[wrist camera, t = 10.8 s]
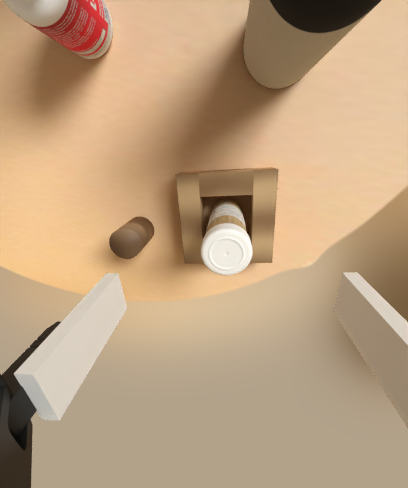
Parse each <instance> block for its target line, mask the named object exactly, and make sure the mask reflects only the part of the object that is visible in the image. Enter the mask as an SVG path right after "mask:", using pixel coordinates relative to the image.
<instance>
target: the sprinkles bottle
mask: <svg viewBox="0 0 408 488" xmlns="http://www.w3.org/2000/svg"><path fill="white" fill-rule="evenodd" d="M252 252H253V251H252V244H251V240H250V237H249V235H248V234H247V232H246V226H245V221H244V218H243V214H242V209H241V207H240V206H239V204H238V203H236V202H235V201H233V200H230V199H224V200H220V201H219V202H217V203H216V204H215V205H214V206H213V208H212V210H211V216H210V219H209V223H208V227H207V231H206V234H205V236H204V238H203V241H202V246H201V257H202V260H203V262H204V264H205V265H206V266H207V267H208V268H209V269H210V270H211V271H213V272H215V273H217V274H220V275H233V274H237V273H239V272H241V271H242V270H244V269H245V268H246V267H247V266H248V264H249V263H250V261H251V258H252Z"/></svg>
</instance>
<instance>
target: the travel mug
mask: <svg viewBox="0 0 408 488" xmlns="http://www.w3.org/2000/svg"><path fill="white" fill-rule="evenodd" d="M380 1H381V0H250V3H249V10H248V17H247V23H246V30H245V36H244V45H243V52H244V59H245V63H246V66H247V69H248V71H249V73H250V74H251V76H252V77H253V78H254V79H255V80H256V81H257V82H258V83H259V84H261V85H263V86H265V87H268V88H273V89H279V88H284V87H288V86H290V85H292V84H294V83H296V82H297V81H298V80H300V79H301V78H302V77H303V76H304V75H305V74H306V73H307V72H308V71H309V70H310V69H311V68H312V67H313V66H315V65H316V64H317V63H318V62H319V61H320V60H321V59H322V58H323V57H324V56H325V55H326V54H327V53H328V52H329V51H330V50H331V49H332V48H333V47H334V46H335V45H336V44H337V43H338V42H339V41H340V40H341V39H342V38H343V37H344V36H345V35H346V34H347V33H348V32H349V31H350V30H351V29H353V28H354V27H355V26H356V25H357V24H358V23H359V22H360V21H361V20H362V19H363V18H364V17H365V16H366V15H367V14H368V13H369V12H370V11H371V10H372V9H373V8H374V7H375V6H376V5H377V4H378V3H379V2H380Z"/></svg>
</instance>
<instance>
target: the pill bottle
mask: <svg viewBox="0 0 408 488" xmlns="http://www.w3.org/2000/svg"><path fill="white" fill-rule="evenodd" d="M4 2H5V3H6V4H7V5H8V7H9V8H10V9H11V10H12V11H13V12H14V13H15V14H16V15H17V16H19V17H20V18H21V19H23V20H24V21H25V22H27V23H29V24H30V25H32V26H33V27H35V28H36V29H38V30H39V31H41V32H43V33H44V34H46V35H47V36H49V37H50V38H52V39H54V40H55V41H57V42H58V43H60V44H61V45H63V46H64V47H66V48H67V49H69V50H70V51H72V52H74V53H75V54H77V55H79V56H81V57H83V58H86V59H95V58H98V57H100V56H102V55H103V54H104V53H105V52H106V51H107V49H108V48H109V46H110V43H111V40H112V36H113V24H112V18H111V15H110V12H109V9H108V7H107V5H106V3H105V2H104V0H4Z"/></svg>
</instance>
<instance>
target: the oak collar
mask: <svg viewBox="0 0 408 488" xmlns="http://www.w3.org/2000/svg"><path fill="white" fill-rule="evenodd" d="M176 183H177V193H178V203H179V212H180V222H181V232H182V241H183V251H184V260H185V263H204V262H203V260H202V257H201V246H202V241H203V238H204V236H205V223H204V206H203V197H209V196H234V195H250V231H249V237H250V240H251V244H252V251H253V252H252V258H251V261H250V263H272V255H273V241H274V226H275V212H276V197H277V183H278V169H276V168H273V167H270V168H251V169H233V170H214V171H195V172H181V173H179V174H176Z"/></svg>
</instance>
